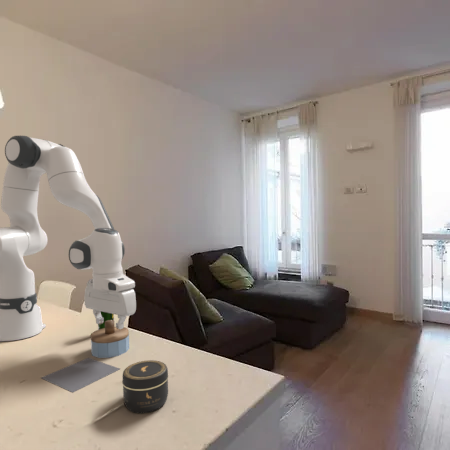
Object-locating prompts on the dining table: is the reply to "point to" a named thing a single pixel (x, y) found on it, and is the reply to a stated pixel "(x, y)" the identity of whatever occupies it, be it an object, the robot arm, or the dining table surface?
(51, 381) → the mat
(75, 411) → the dining table surface
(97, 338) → the lid
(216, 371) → the dining table surface
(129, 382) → the jar
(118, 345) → the bowl
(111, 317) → the beer can
